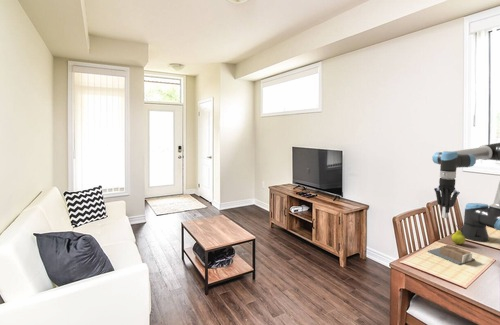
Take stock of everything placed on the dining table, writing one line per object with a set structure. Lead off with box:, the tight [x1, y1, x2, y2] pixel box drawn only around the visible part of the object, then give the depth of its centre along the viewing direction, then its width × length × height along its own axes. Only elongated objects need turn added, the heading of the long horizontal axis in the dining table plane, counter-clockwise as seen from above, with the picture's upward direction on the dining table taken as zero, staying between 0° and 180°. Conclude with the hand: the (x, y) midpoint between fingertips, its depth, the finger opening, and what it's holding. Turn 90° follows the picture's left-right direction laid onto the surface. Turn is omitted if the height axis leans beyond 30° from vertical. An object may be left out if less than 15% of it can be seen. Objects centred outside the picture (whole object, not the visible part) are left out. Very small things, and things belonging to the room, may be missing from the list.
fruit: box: [451, 224, 467, 245], centre depth 171 cm, size 7×7×12 cm
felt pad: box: [427, 247, 475, 266], centre depth 155 cm, size 14×17×1 cm
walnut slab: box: [439, 244, 473, 264], centre depth 153 cm, size 8×4×12 cm
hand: (444, 217), depth 160 cm, fingers closed
